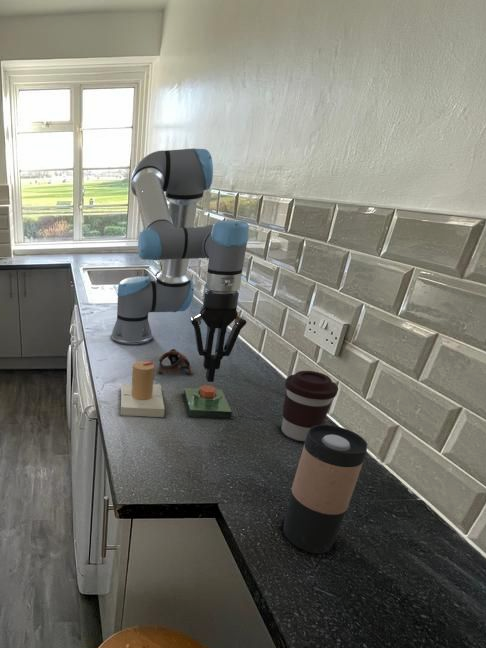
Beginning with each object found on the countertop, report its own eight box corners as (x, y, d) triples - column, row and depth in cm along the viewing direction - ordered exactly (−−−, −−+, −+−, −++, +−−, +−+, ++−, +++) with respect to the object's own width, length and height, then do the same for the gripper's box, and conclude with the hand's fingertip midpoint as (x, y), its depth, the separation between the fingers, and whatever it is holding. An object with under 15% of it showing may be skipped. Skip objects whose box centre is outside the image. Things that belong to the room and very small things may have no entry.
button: (198, 390, 108) (199, 384, 108) (213, 391, 108) (214, 385, 107) (200, 397, 105) (201, 391, 104) (216, 398, 104) (217, 392, 103)
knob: (138, 401, 106) (140, 370, 103) (127, 392, 111) (128, 362, 107) (156, 397, 108) (158, 366, 104) (144, 388, 113) (146, 358, 109)
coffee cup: (317, 425, 97) (333, 369, 91) (328, 449, 89) (346, 389, 83) (271, 419, 100) (284, 365, 94) (278, 442, 92) (292, 384, 86)
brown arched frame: (196, 380, 123) (187, 361, 118) (166, 390, 126) (157, 373, 122) (188, 356, 132) (179, 338, 127) (160, 366, 135) (151, 349, 131)
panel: (121, 390, 118) (121, 382, 117) (159, 392, 116) (160, 383, 115) (120, 415, 106) (121, 406, 104) (163, 417, 104) (164, 408, 102)
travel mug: (271, 521, 71) (296, 426, 63) (312, 517, 72) (342, 422, 63) (299, 557, 64) (331, 456, 56) (345, 552, 65) (383, 451, 56)
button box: (183, 394, 114) (184, 382, 112) (220, 396, 112) (222, 383, 111) (189, 416, 103) (191, 403, 102) (230, 419, 102) (233, 405, 100)
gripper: (195, 294, 92) (185, 385, 102) (256, 294, 90) (239, 387, 100) (190, 286, 99) (181, 372, 109) (247, 286, 97) (232, 374, 107)
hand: (209, 379), depth 104 cm, fingers closed
